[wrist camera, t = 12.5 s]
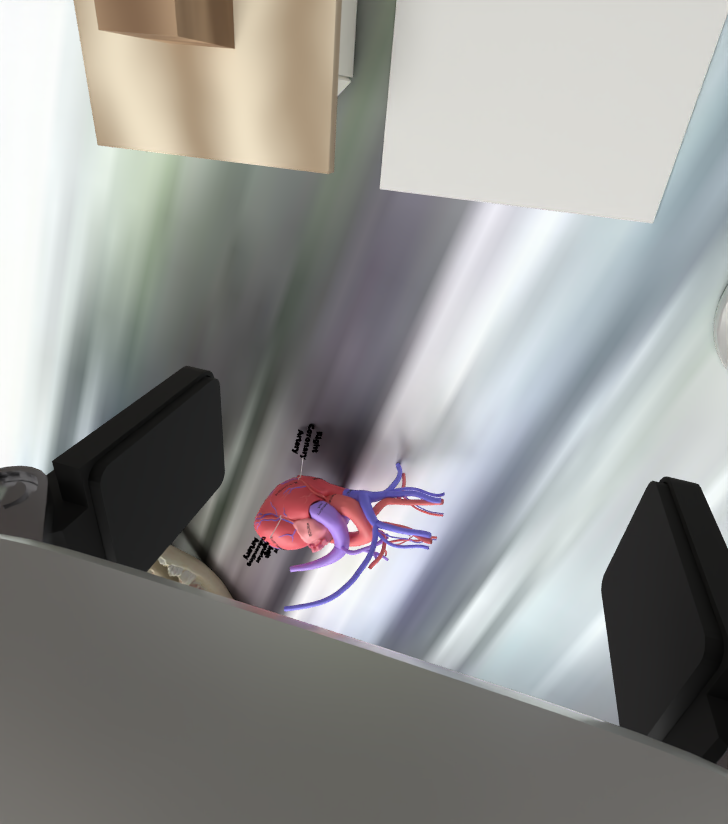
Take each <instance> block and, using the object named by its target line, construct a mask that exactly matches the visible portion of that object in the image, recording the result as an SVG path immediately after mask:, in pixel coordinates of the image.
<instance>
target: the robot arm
mask: <svg viewBox="0 0 728 824" xmlns="http://www.w3.org/2000/svg"><path fill="white" fill-rule="evenodd" d="M713 336H714V342H715V347H716V351H717V353H718V355H719V357H720V360H721V362H722V364H723V365H724V366H725V368H726V369H727V370H728V285H727V287H726V289H725V291H724V293H723V295H722V297H721V299H720V301H719V304H718V307H717V311H716V314H715V318H714V332H713ZM52 463H53V467H54V470H53V471H52V472H50V473H49V474H47V475H45V474H44V473H43V472H42V471H41V470H39V469H36V468H33V467H27V466H11V467H4V468H0V824H728V548H727V546H726V544H725V541H724V539H723V537H722V535H721V532H720V530H719V528H718V526H717V523H716V521H715V519H714V516H713V514H712V512H711V510H710V507H709V505H708V503H707V501H706V498H705V496H704V494H703V492H702V489H701V487H700V486H699V484H696V483H692V482H688V481H684V480H679V479H675V478H671V477H663V478H662V479H661V480H660V482H655V481H652V482H650V483H649V485H648V486H647V488H646V490H645V492H644V494H643V496H642V498H641V500H640V502H639V504H638V506H637V508H636V510H635V512H634V515H633V517H632V519H631V521H630V523H629V525H628V527H627V529H626V531H625V533H624V535H623V537H622V539H621V541H620V543H619V545H618V547H617V549H616V551H615V553H614V555H613V557H612V559H611V561H610V563H609V566H608V568H607V570H606V572H605V574H604V576H603V580H602V587H601V592H602V600H603V607H604V615H605V622H606V629H607V636H608V644H609V651H610V658H611V666H612V673H613V680H614V687H615V695H616V702H617V709H618V716H619V724H620V726H617V725H614V724H611V723H609V722H606V721H603V720H600V719H597V718H594V717H591V716H588V715H585V714H582V713H580V712H577V711H574V710H571V709H568V708H565V707H562V706H559V705H556V704H553V703H550V702H548V701H545V700H542V699H539V698H536V697H533V696H530V695H527V694H524V693H520V692H517V691H514V690H511V689H508V688H505V687H502V686H499V685H496V684H493V683H490V682H487V681H484V680H481V679H478V678H475V677H472V676H469V675H465V674H462V673H459V672H456V671H453V670H450V669H447V668H444V667H441V666H438V665H435V664H432V663H429V662H426V661H423V660H420V659H417V658H414V657H410V656H407V655H404V654H401V653H398V652H395V651H392V650H389V649H386V648H383V647H380V646H377V645H373V644H370V643H367V642H364V641H361V640H358V639H355V638H352V637H349V636H345V635H342V634H339V633H336V632H333V631H330V630H327V629H324V628H321V627H318V626H314V625H311V624H308V623H305V622H302V621H299V620H296V619H293V618H289V617H286V616H283V615H280V614H277V613H274V612H271V611H268V610H264V609H261V608H258V607H255V606H252V605H249V604H246V603H243V602H239V601H236V600H233V599H230V598H227V597H223V596H220V595H217V594H214V593H211V592H208V591H204V590H201V589H198V588H195V587H192V586H189V585H185V584H182V583H179V582H176V581H173V580H170V579H166V578H163V577H160V576H157V575H154V574H151V573H147V571H148V570H149V569H150V568H151V567H152V565H153V564H154V563H155V562H156V561H157V560H158V558H159V557H160V556H161V555H162V554H163V553H164V551H165V550H166V549H167V548H168V547H169V545H170V544H171V543H172V542H173V541H174V540H175V538H176V537H177V536H178V535H179V534H180V533H181V531H182V530H183V529H184V528H185V527H186V525H187V524H188V523H189V522H190V521H191V520H192V518H193V517H194V516H195V515H196V514H197V513H198V511H199V510H200V509H201V508H202V507H203V506H204V504H205V503H206V502H207V501H208V500H209V498H210V497H211V496H212V495H213V494H214V493H215V491H216V490H217V489H218V488H219V487H220V485H221V483H222V481H223V478H224V474H225V467H224V449H223V432H222V415H221V397H220V384H219V381H218V380H217V379H215V378H214V376H213V374H212V372H210V371H208V370H203V369H199V368H195V367H190V366H185V367H183V368H182V369H180V370H179V371H177V372H176V373H175V374H173V375H172V376H170V377H169V378H168V379H166V380H165V381H163V382H162V383H161V384H159V385H158V386H156V387H155V388H154V389H152V390H151V391H149V392H148V393H147V394H145V395H144V396H142V397H141V398H140V399H138V400H137V401H135V402H134V403H133V404H131V405H130V406H128V407H127V408H126V409H124V410H123V411H121V412H120V413H119V414H117V415H116V416H114V417H113V418H112V419H110V420H109V421H107V422H106V423H105V424H103V425H102V426H100V427H99V428H98V429H96V430H95V431H93V432H92V433H91V434H89V435H88V436H87V437H85V438H84V439H82V440H81V441H80V442H78V443H77V444H75V445H74V446H73V447H71V448H70V449H68V450H67V451H66V452H64V453H63V454H61V455H60V456H59V457H57V458H56V459H54V460H53V461H52Z"/></svg>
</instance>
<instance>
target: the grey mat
mask: <svg viewBox="0 0 728 824" xmlns="http://www.w3.org/2000/svg"><path fill="white" fill-rule="evenodd" d="M727 14H728V0H397V2H396V14H395V25H394V36H393V47H392V58H391V69H390V81H389V92H388V103H387V114H386V125H385V136H384V148H383V159H382V170H381V181H380V189H384V190H392V191H400V192H408V193H416V194H424V195H431V196H439V197H447V198H455V199H463V200H471V201H479V202H487V203H495V204H503V205H511V206H519V207H527V208H535V209H542V210H550V211H558V212H566V213H574V214H582V215H590V216H598V217H606V218H614V219H622V220H630V221H638V222H646V223H653V221H654V219H655V216H656V213H657V210H658V207H659V205H660V202H661V199H662V196H663V193H664V191H665V188H666V185H667V182H668V179H669V177H670V174H671V171H672V168H673V165H674V163H675V160H676V157H677V154H678V151H679V149H680V146H681V143H682V140H683V137H684V134H685V132H686V129H687V126H688V123H689V120H690V118H691V115H692V112H693V109H694V106H695V104H696V101H697V98H698V95H699V92H700V90H701V87H702V84H703V81H704V78H705V76H706V73H707V70H708V67H709V64H710V62H711V59H712V56H713V53H714V50H715V47H716V45H717V42H718V39H719V36H720V33H721V31H722V28H723V25H724V22H725V19H726V17H727Z"/></svg>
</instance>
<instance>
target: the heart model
mask: <svg viewBox="0 0 728 824" xmlns="http://www.w3.org/2000/svg"><path fill="white" fill-rule="evenodd" d="M311 426H312V429H314V425H313V424H310V425H309V426H308V430H307V433H308V434H306V436H309V438H308V437H307V438H306V439H305V441H306V442H310V438H311V435H310V434H311V433H312V430H311V429H310V427H311ZM298 431H299V433H298V434H297V435H298V436H297V437H299V439H296V443H295V446H294V448H297V449H296V450H294V449H292V451H293V452H294V453H296V454H298V453H297V451H298V450H299V447H298V446H299V445H300V443H299V442H300V441H302V440H301V437H302V436H299V435H301V434H304V432H303V431H301V430H299V429H298ZM309 431H310V432H309ZM316 433H317V435H316V437H315V438H316V439H315V440H314V439H313V443H314V445H313V446H316V447H313V449H315V450H312V452H313V453H314V452H316V453H317V452H318V450H317V449H318V446H320V445H319V440H318V439H322V438H321V437H318V436H322V433H323V432H316ZM298 441H299V442H298ZM316 441H317V442H316ZM304 444H306V445H304V448H303V451H304V452H302V453H303V454H305V455H304V456H302V455H300V457H301V458H303V459H305V458H304V457H306V456H307V451H308V448H305V447H309V443H304ZM303 459H302V465H303ZM305 460H306V459H305ZM396 468H397V470H398V473H397V477H396V478H395V480H394V481H393V482H392V483H391V485H390V486H389V487H388V488H387V489H386V490H384V491H380V492H371V491H365V490H349V489H348V488H342V487H339V486H336V485H333V484H330V483H328V482H326V481H325V480H323V479H321V478H316V477H311V476H303V475H301V474H300V475H298V476H297V477H296V478H291V479H289V480H287V481H285V482H283V483H281V484H279V485H278V486H277V487H276V488H275V489H274V490H273V491H272V492H271V494H270V495H269V496H268V498H267V499H266V500H265V502H264V503H263V505H262V506H261V508H260V510H259V512H258V513H257V516H256V517H257V518H256V517H255V522H254V527H255V530H256V532H257V533H258V535H259V536H260V537H261V540H260V542H259V540H258V539H257V538H254V541H252V542H253V543H251V544H252V545H253V546H250V547H249V549H248V552H247V553H246V554H248V555H247V556H245V555H243V557H244V558H245V559H247V558H248V557H249V556H250V554H251V552H252V549H254V548H255V545H256V544H255V543H256V542H259V543H258V546H257V548H256V549H255V550H256V551H254V552H256V553H253V555H252V557H251V559H250V560H251V561H249V563H248V562H247V565H248V566H251V563H252V562H253V559H254V560H255V558H256V555H255V554H257V551H258V550H259V549H258V548H260V546H261V545H262V546H263V549H262V551H261V553H260V555H261V556H260V555H259V557H258V558H257V560H256V562H257V563H259V560H261V558H260V557H263V553H264V555H266V556H265V558H266V557H267V558H269V556H271V555H270V553H271V551H270V550H271V549H272V550H273V547H274V548H275V550H274V552H275V553H277V552H278V550H279V549H283V550H293V549H300V548H303V547H305V546H309V548H310V549H311V548H312V552H317V551H319V550H321V549H322V548H323V547H324V546H325V545H327V544H328V543H333V544H335V546H334V548H333V550H332V551H331V552H330V553H329V554H327V555H326V556H324V557H322V558H320V559H317V560H315V561H312V562H309V563H306V564H301V565H295V566H290V571H291V572H294V571H305V570H311V569H315V568H320V567H323V566H326V565H329V564H332V563H334V562H336V561H338V560H339V559H341V558H342V557H343V556H344V555H345V554H346V553H347V554H350V555H356V554H359V553H361V552H367V553H368V554H367V556H366V558H365V560H364V561H363V562H362V564H361V565H360V567H359V568H358V569H357V571H356V572H355V574H354V575H353V576H352V577H351V579H350V580H349V581H348V582H347V583H346V584H345V585H343V586H342V587H341V588H340V589H339V590H338V591H336V592H335V593H333V594H332V595H330V596H328V597H326V598H324V599H321V600H318V601H315V602H311V603H306V604H300V605H294V606H285V607H284V611H292V610H299V609H305V608H310V607H315V606H319V605H322V604H325V603H327V602H330V601H332V600H333V599H335V598H337V597H338V596H340V595H341V594H342V593H343V592H344V591H346V590H347V589H348V588H349V587H350V586H351V585H352V584H353V583H354V582H355V581H356V580H357V579H358V577H359V576H360V574H361V573H362V571H363V570H364V569H365V567H366V566H367V564H368V563H369V561H370V560H371V558H372V556H374V557H375V560H374V561H373V562H372V563H371V564H370V565H369V567H368V568H370V569H372V568H373V566H374V565H375V564H376V563H378V562H379V560H380V559H381V558H383V559H385V560H387V561H388V558H386V557H385V556H386V555H387V551H386V550H385V549H386V544H388V545H390V546H392V547H396V548H424V549H429V546H425V545H400V544H402V543H404V542H406V541H412V542H414V543H421V542H425V543H428V544H432V540H436V539H437V537H435V536H431V533H430V532H427V531H422V530H415V529H412V528H409V527H407V526H403V525H399V524H394V523H389V522H382V521H379V520H378V519H377V517H376V515H378V514H379V512H380V511H381V510H382V509H383V508H384V507H385V506H386V505H393V504H396V505H411V506H412V507H414V508H415V509H417V510H419V511H421V512H424V513H426V514H429V515H434V516H443V514H444V513H437V512H431V511H428V510H425V509H423V508H421V507H419V506H418V505H443V503H444V500H443V499H441V498H435V497H441V496H444V495H445V493H441V494H433V493H430V492H427V491H424V490H422V489H419V488H414V487H405V485H406V477H405V473H402V468H401V465H400V463H397V464H396ZM301 473H302V467H301ZM401 477H402V481H403V482H402V488H397V489H394V488H395V487H396V486H397V485H398V483H399V482H400V480H401ZM404 490H405V491H404ZM413 490H415V491H413ZM418 491H419V492H418ZM424 493H425V494H424ZM426 494H427V495H426ZM429 495H430V496H429ZM407 496H415V497H419V498H421V500H409V499H408V498H407ZM431 496H434V497H431ZM401 497H403V498H404V499H401ZM422 499H423V500H422ZM380 500H381V501H380ZM377 501H379V502H378V503H377V504H376V505H375V506H374V507H373V508H372V505H371V503H372V502H377ZM414 505H416V506H417V507H419V508H421V509H423V510H425V511H423V510H421V509H419V508H417V507H415V506H414ZM426 511H428V512H426ZM429 512H431V513H429ZM434 513H437V514H434ZM350 519H351V520H352V521H353V523H354V524H355V525H356V527H357V528H358V530H359V531H356V532H348V528H347V524H348V522H349V520H350ZM378 528H380V529H385V530H389V531H393V532H397V533H401V534H407V535H409V536H410V535H413V536H414V537H416V538H418V539H419V540H412V539H410V538H409V539H407V538H398V537H393V536H389V535H388V534H387V533H386V534H385V533H384V532H383V531H381V530H379V529H378ZM378 536H379V537H380V538H381V540H379V541H378V542H377V540H378ZM388 536H389V537H392V538H398V540H393V541H388V540H387V539H388V538H389V537H388ZM413 536H412V537H413ZM412 537H411V538H412ZM432 538H434V539H432ZM371 541H372V543H371V545H370V546H367V547H364V548H361V549H358V550H355V551H352V550H348V549H349V546H361V545H364V544H367V543H369V542H371ZM398 541H404V542H402V543H400V544H393V543H392V542H398ZM418 541H421V542H418ZM263 542H264V544H263ZM382 543H383V544H382ZM380 544H382V550H381V552H380V553H378V552H374V551H375V548H376V546H378V545H380ZM267 545H269V546H268V547H269V548H267ZM251 548H252V549H251ZM265 548H267V549H268V550H266V549H265ZM369 549H370V550H369ZM263 550H264V551H265V550H266V552H264V551H263ZM384 552H385V556H384V555H383V554H384ZM377 556H378V557H377ZM247 560H248V559H247Z"/></svg>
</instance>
